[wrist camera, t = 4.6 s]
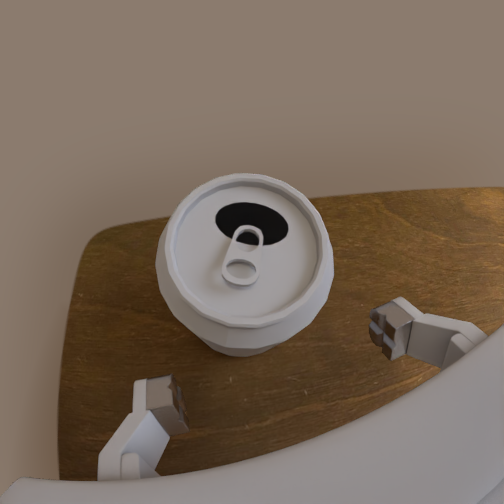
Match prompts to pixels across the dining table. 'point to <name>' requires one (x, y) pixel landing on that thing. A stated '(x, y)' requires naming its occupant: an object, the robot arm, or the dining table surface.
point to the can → (245, 263)
